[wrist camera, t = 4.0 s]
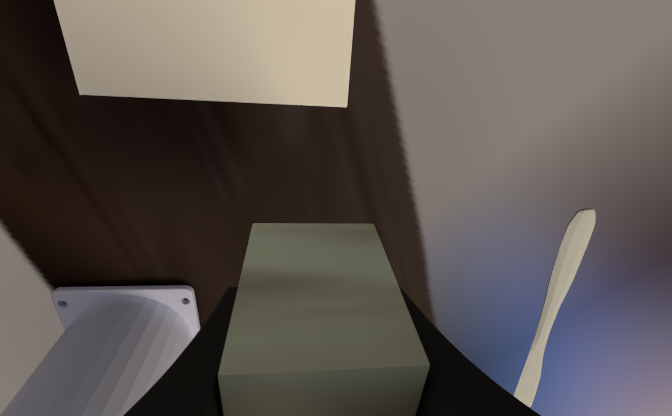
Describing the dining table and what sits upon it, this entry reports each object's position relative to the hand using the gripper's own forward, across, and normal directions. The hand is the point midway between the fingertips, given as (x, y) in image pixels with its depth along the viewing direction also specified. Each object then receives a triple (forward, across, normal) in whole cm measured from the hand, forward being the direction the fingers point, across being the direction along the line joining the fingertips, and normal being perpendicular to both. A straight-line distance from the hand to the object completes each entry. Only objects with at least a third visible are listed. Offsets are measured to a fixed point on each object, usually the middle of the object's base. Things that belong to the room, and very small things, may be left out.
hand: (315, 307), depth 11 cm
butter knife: (+9, -20, +14) cm, 26 cm away
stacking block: (+2, 0, 0) cm, 2 cm away
